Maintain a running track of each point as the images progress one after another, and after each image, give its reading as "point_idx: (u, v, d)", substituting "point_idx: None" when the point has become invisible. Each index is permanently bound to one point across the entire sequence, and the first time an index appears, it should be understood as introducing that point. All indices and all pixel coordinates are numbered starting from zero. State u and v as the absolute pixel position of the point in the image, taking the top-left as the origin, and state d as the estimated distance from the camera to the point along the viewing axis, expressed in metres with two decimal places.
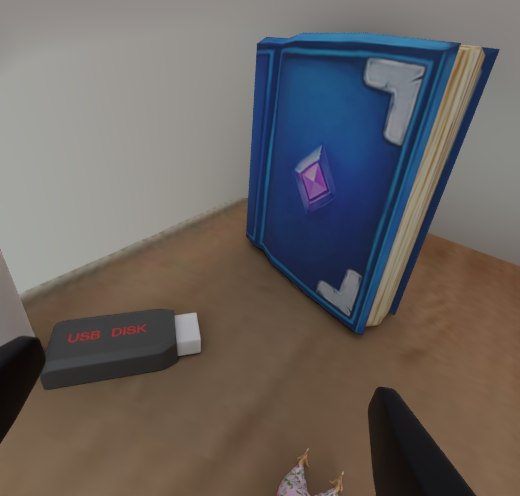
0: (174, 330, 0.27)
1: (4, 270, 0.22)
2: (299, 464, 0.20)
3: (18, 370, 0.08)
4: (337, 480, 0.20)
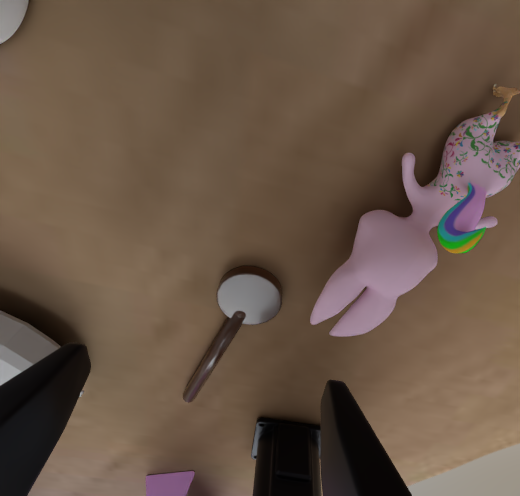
0: None
1: None
2: (498, 115, 0.14)
3: (69, 377, 0.08)
4: None
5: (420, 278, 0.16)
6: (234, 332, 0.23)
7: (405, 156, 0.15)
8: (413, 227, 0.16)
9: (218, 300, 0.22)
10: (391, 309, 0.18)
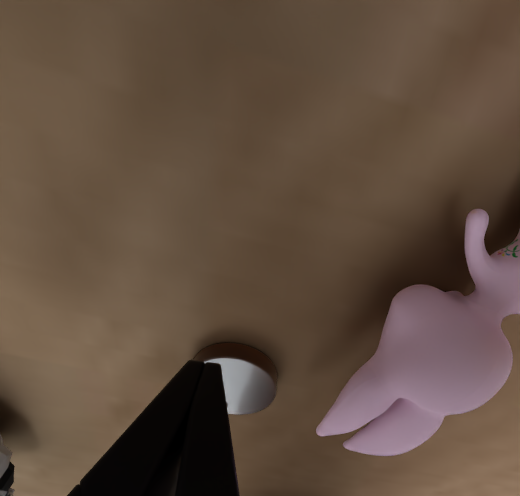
0: None
1: None
2: None
3: None
4: None
5: None
6: None
7: (473, 215, 0.09)
8: (480, 321, 0.10)
9: None
10: (437, 428, 0.12)
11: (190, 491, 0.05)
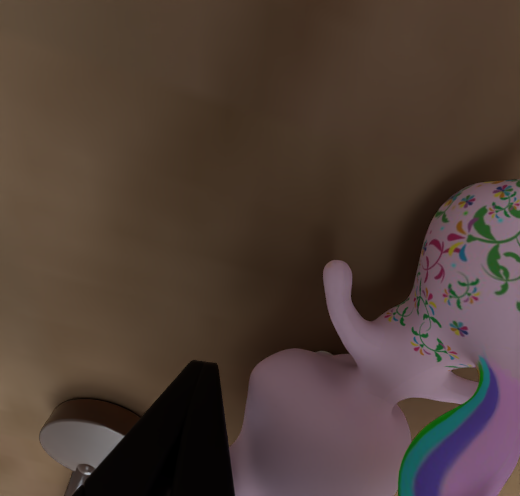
0: None
1: None
2: None
3: None
4: None
5: None
6: None
7: (328, 270, 0.06)
8: (353, 415, 0.07)
9: (46, 449, 0.13)
10: None
11: (186, 490, 0.05)
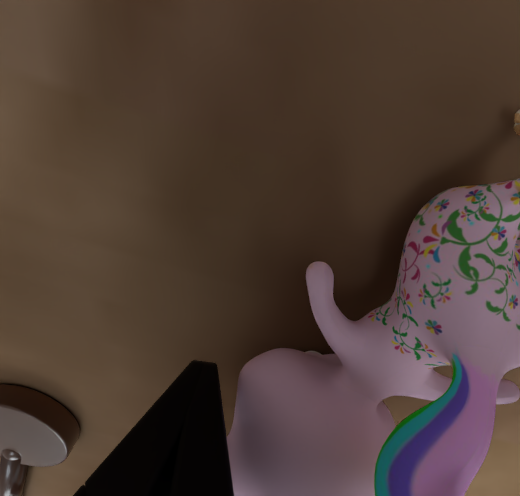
0: None
1: None
2: None
3: None
4: None
5: None
6: (14, 474, 0.15)
7: (309, 271, 0.07)
8: (337, 412, 0.07)
9: None
10: None
11: (184, 490, 0.05)
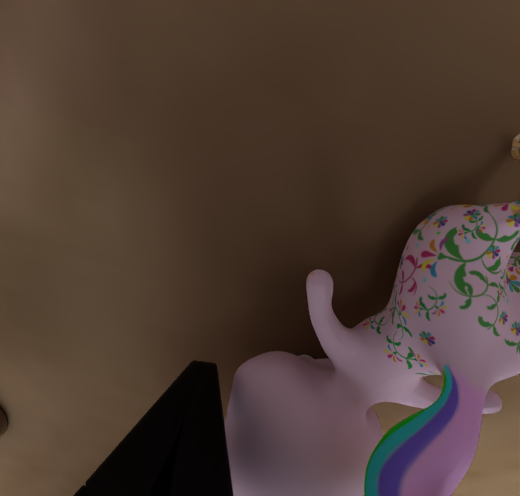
0: None
1: None
2: None
3: None
4: None
5: None
6: None
7: (310, 279, 0.07)
8: (329, 416, 0.08)
9: None
10: None
11: (184, 490, 0.05)
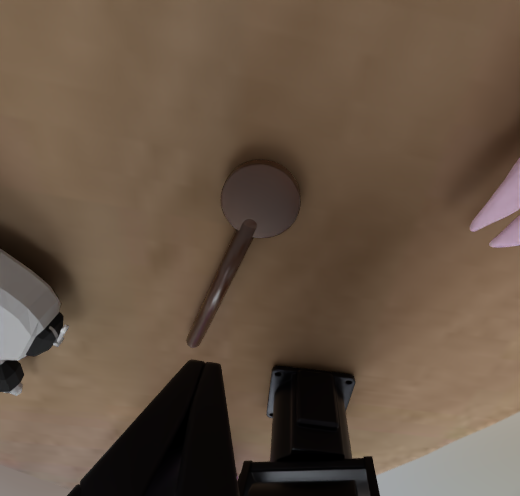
0: None
1: None
2: None
3: None
4: None
5: None
6: (243, 249, 0.19)
7: None
8: None
9: (223, 206, 0.18)
10: None
11: (190, 491, 0.05)
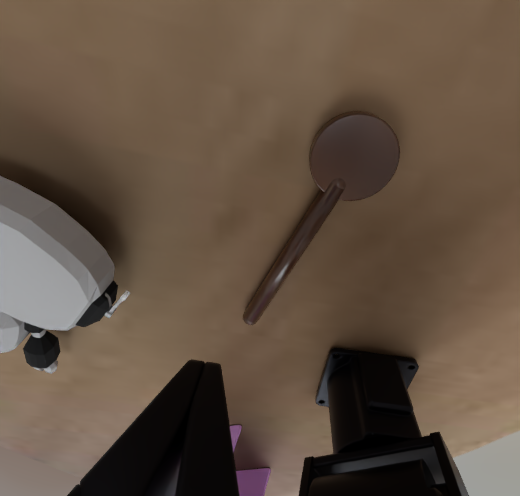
0: None
1: None
2: None
3: None
4: None
5: None
6: (326, 213, 0.18)
7: None
8: None
9: (312, 162, 0.17)
10: None
11: (190, 491, 0.05)
